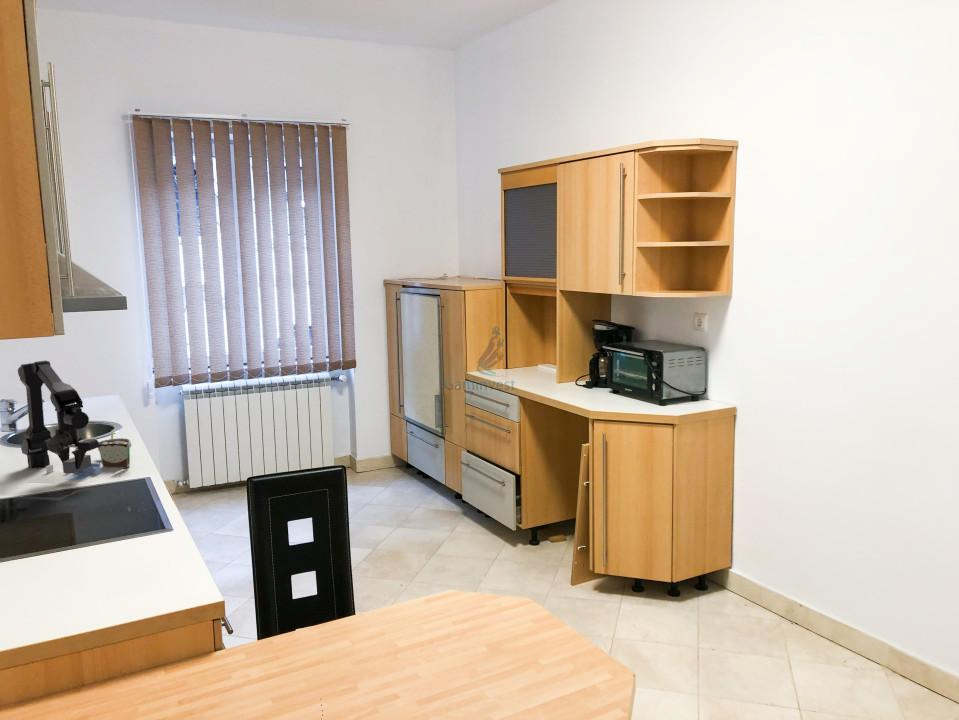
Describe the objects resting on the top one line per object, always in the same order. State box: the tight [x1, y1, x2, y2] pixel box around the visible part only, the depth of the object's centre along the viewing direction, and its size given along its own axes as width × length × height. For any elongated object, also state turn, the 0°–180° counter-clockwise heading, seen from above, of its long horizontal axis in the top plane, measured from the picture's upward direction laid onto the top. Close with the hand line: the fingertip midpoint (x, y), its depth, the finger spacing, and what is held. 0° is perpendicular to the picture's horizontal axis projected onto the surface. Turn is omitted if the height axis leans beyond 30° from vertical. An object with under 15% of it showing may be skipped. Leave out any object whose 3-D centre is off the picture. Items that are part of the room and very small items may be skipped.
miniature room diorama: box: [26, 462, 102, 485], centre depth 270 cm, size 20×13×4 cm, turn 79°
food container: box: [97, 437, 132, 470], centre depth 284 cm, size 12×6×10 cm, turn 84°
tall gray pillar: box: [61, 454, 92, 474], centre depth 269 cm, size 4×9×4 cm, turn 169°
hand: (72, 468), depth 267 cm, fingers closed on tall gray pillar, 4 cm apart
